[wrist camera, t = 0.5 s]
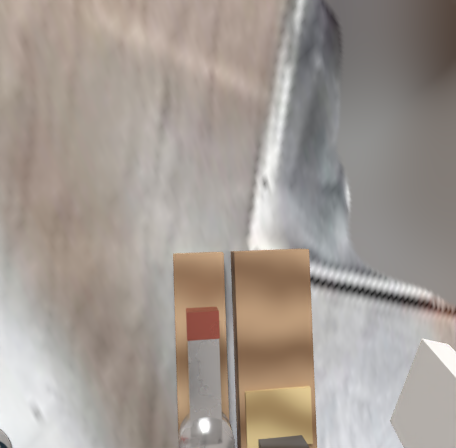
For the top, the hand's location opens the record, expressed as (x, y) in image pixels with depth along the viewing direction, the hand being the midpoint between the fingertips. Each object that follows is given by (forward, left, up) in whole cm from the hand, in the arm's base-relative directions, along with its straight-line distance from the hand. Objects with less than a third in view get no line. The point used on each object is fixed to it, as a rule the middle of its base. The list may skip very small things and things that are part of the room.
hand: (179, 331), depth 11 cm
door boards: (-9, -6, -27) cm, 29 cm away
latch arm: (-10, -2, -23) cm, 25 cm away
